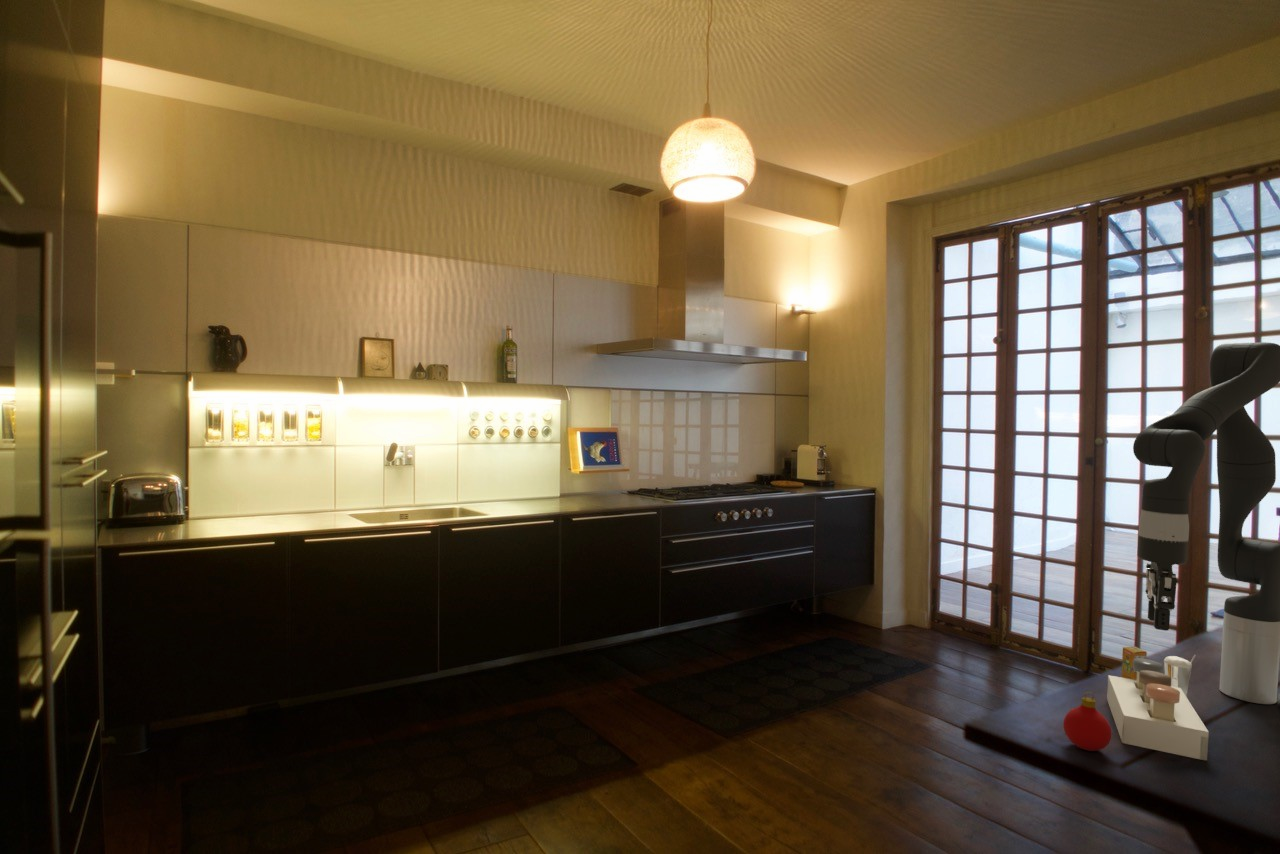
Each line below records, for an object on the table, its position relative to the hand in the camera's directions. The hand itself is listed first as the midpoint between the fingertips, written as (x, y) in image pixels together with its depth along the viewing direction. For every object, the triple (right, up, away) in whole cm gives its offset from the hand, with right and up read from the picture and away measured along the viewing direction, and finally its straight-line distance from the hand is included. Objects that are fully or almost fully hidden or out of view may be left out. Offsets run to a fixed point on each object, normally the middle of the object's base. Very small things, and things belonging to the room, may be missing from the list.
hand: (1157, 624), depth 131 cm
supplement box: (+6, -19, +15) cm, 25 cm away
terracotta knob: (-4, -16, -6) cm, 18 cm away
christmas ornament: (-19, -19, -9) cm, 29 cm away
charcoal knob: (+3, -16, +7) cm, 18 cm away
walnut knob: (0, -16, +1) cm, 16 cm away
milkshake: (+14, -20, +13) cm, 28 cm away
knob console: (-1, -20, +1) cm, 20 cm away
